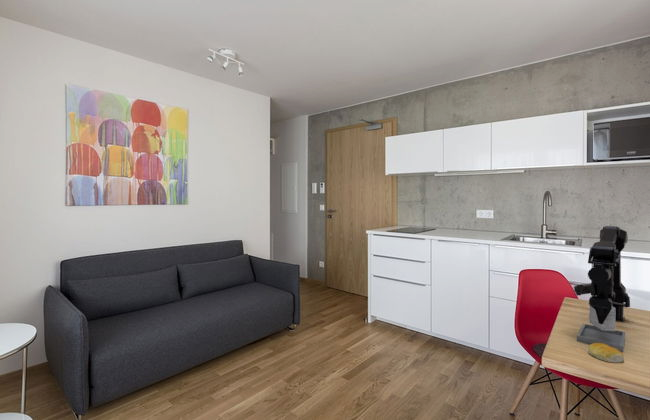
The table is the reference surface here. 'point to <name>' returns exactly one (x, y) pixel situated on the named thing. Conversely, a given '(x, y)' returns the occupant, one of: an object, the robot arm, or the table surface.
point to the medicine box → (608, 323)
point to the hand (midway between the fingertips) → (601, 320)
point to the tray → (601, 336)
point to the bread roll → (605, 353)
